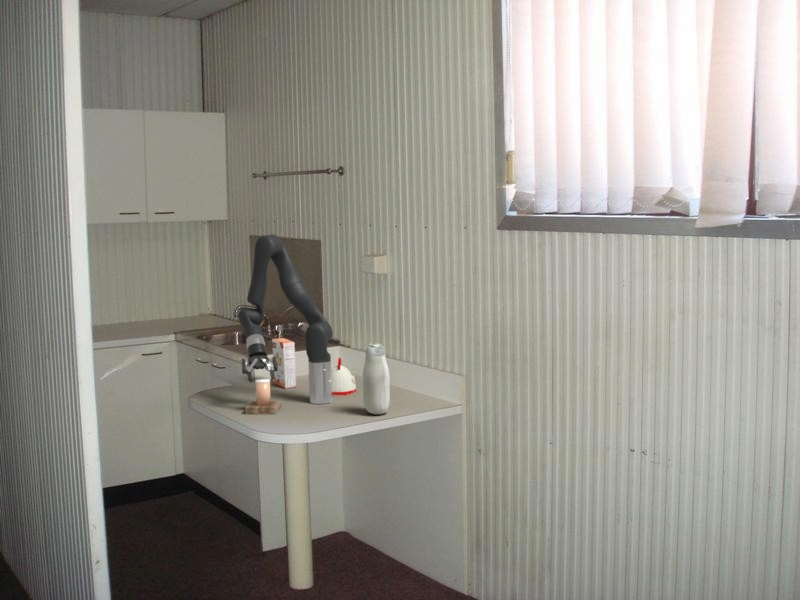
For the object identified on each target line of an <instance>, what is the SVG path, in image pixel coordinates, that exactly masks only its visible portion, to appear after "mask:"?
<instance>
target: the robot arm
mask: <svg viewBox="0 0 800 600" xmlns="http://www.w3.org/2000/svg"><path fill="white" fill-rule="evenodd" d="M253 257H254V258H253V259H254V260H253V268H252V274H251V275H252V277H251V280H250V286H249V288H248V294H247V297H246V301H247V302H248V303H249V304H251V305H254V306H255V308H251V307H250V308H249V307H243V308H241V309H240V310H239V311H238V315H237V317H238V321H239V324H240V326H241V328H242V330H243V332H244V334H245V339H246V350H247V354H248V355H247V356H248V359H245V358H242V359H241V370H242V371H241V372H242V375H247V380H248V382H250V383H252V382H253V376H252V372H253V371H254V370H264V369H265V370H266V371H268V372H269V376H270V381H274V377H275V375H274V372H277V369H278V365H277V362H276V358H275V357H274V356H273V355H272V357H269V356H268V352H267V348H266V343H265V338H264V334H263V333H264V332H263V329H262V327H261V325H262V324H263V321H264V319H265V315H264V312H265V311H264V303H265V298H266V293H267V289H268V276H267V273H268V266H269V263H270V260H271V261H272V263H273V264H274V266H275V268H276V270H277V272H278V277H279V278H278V279H279V284H280V287H281V290H282V292H283V293H284V296H285V297H286V299H287V300H288V302H289V303H290V304H291V306H293V308H295V309H296V310H297V311H298V312H299V313H300V314H301V315H302V316H303V318H304V319H305V321H306V322H307V325H308V327H307V328H306V330H305V335H304V336H305V338H304V339H305V352H306V355H307V356H306V357H307V358H308V389H309V392H308V393H309V397H308V398H309V403H310V404H314V405H315V404H316V405H323V404H331V403H332V401H333V400H334V399H333V396H334V395H332V378H331V370H332V362H331V359H332V358H331V354H330V353H329V352H328V347H327V343H328V342H330V341H331V340H332V338H333V334H334V333H333V332H334V331H333V328H332V326H331V325H330V323H329V322H328V321H327V319H326V318H325V316H324V315H323V314H322V312H321V310H320V309H319V307H318V306H317V304H316V302H315V300H314V299H313V297H312V295H311V293H310V292H309V289H308V288H307V286H306V284H305V282H304V281H303V279H302V277H301V276H300V274H299V272H298V270H297V268H296V266H295V265H294V264H293V261H292V259H291V258H290V256H289V253H288V251H287V248H286V247H285V244H284V242H283V241H282V239H281V238H280V237H279V236H277V235H276V234H266V235H262V236H260V237H258V238H257V240H256V241H255V246H254V256H253ZM269 362H270V363H271V364H272V365H271V364H270V363H269ZM247 365H249V367H248V369H247V367H246V366H247Z"/></svg>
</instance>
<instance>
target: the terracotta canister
mask: <svg viewBox="0 0 800 600" xmlns="http://www.w3.org/2000/svg"><path fill="white" fill-rule="evenodd" d="M254 383H255V384H254V385H255V386H254V387H255V401H256V405H257V406H268V405H271V401H272V400H271V398H272V397H271V378H264V377H263V378H258V379H257V378H256V379H255V381H254Z"/></svg>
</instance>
